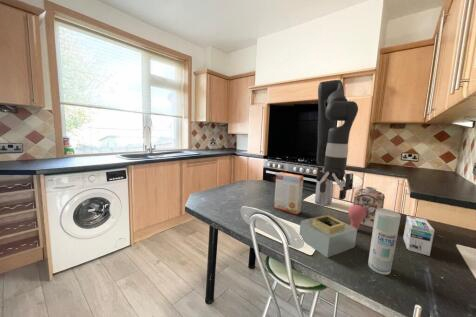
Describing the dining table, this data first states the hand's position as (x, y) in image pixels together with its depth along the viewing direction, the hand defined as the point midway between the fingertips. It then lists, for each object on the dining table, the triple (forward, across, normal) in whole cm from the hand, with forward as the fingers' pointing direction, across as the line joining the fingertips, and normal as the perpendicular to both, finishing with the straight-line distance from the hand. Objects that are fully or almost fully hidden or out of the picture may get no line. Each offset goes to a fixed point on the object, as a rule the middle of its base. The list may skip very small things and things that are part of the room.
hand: (331, 195), depth 77 cm
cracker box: (+21, +32, -7) cm, 39 cm away
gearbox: (+20, 0, 0) cm, 20 cm away
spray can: (+20, -18, -4) cm, 27 cm away
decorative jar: (+21, +5, -36) cm, 42 cm away
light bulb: (+21, +2, -22) cm, 30 cm away
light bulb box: (+21, -17, -32) cm, 42 cm away
